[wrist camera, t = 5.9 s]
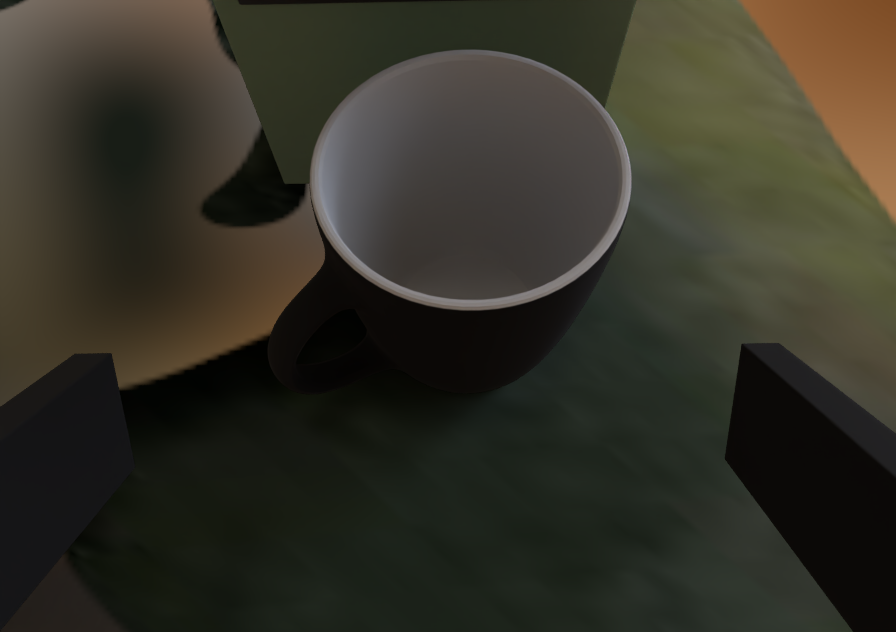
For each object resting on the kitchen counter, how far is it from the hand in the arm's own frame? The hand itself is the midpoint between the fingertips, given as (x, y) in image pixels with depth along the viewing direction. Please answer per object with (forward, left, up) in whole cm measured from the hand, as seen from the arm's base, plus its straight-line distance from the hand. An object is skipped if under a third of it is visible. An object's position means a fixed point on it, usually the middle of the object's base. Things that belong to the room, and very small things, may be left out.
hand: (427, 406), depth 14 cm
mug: (0, +6, -11) cm, 13 cm away
